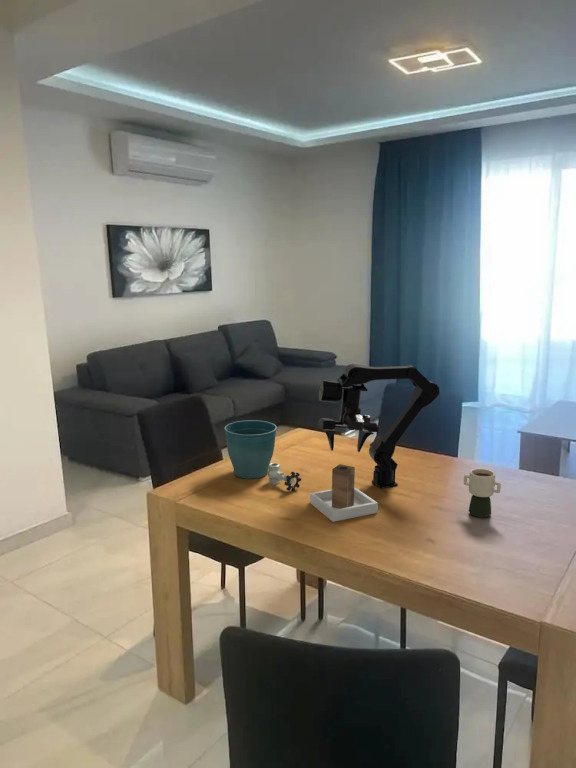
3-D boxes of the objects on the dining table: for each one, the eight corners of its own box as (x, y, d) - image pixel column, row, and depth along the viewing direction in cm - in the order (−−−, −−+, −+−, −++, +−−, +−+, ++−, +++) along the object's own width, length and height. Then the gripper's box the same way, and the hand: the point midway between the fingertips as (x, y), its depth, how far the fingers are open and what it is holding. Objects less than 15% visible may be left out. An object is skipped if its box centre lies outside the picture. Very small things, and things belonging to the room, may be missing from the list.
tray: (352, 494, 185) (352, 485, 184) (377, 512, 171) (377, 502, 171) (309, 502, 179) (309, 493, 178) (332, 521, 166) (333, 511, 165)
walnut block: (339, 501, 178) (339, 463, 176) (354, 504, 176) (354, 466, 173) (331, 506, 174) (332, 468, 172) (346, 510, 172) (347, 471, 169)
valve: (262, 484, 195) (286, 494, 186) (262, 465, 193) (286, 474, 185) (277, 479, 199) (301, 488, 190) (277, 460, 198) (301, 469, 189)
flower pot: (286, 470, 207) (286, 424, 203) (257, 486, 192) (256, 437, 189) (246, 461, 216) (245, 417, 213) (215, 476, 202) (213, 429, 198)
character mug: (502, 515, 169) (506, 473, 166) (493, 523, 164) (496, 480, 161) (466, 505, 176) (469, 465, 173) (456, 513, 171) (459, 471, 168)
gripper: (331, 405, 176) (325, 455, 178) (387, 409, 181) (381, 458, 182) (320, 400, 187) (315, 447, 188) (373, 404, 192) (368, 450, 193)
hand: (345, 451), depth 188 cm, fingers open, 9 cm apart
